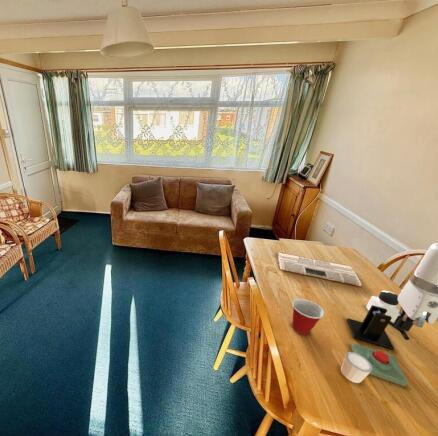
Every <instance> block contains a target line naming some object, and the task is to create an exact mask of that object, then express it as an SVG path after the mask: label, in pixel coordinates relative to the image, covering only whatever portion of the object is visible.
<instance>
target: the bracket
mask: <svg viewBox="0 0 438 436" xmlns="http://www.w3.org/2000/svg"><path fill="white" fill-rule="evenodd" d="M378 309H379V310H380V311H382V312H383V313H384V314H386V312H387V309H385V308H381V307H377V306H373V305H372V306H371V308H370V310H369V311H368V310H367V311H368V312H367V313H366V315H365V316H364V319H363V320H362V321H359V320H356V319H352V318H348V317H347V318H346V322H347V325H348V328H349V329H350V330H349V331H350V332H351V336H352V338H353V339H355V340H358V341H360V342H364V343H366V344H367V343H368V344H371V345H374V346H377V347H380V348H384V349H386V350H390V351H394V350H395V348H394V345H393V344H392V342H391V340H390V338H389V336H388V334H387V332H386V328H387V327H388V325H390V324H389V322H390V320H391V319H392V317H391V316H388V315H384V314H381V313H377V312H376V313H375V314H373V311H375V310H378Z"/></svg>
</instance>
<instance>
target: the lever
mask: <svg viewBox="0 0 438 436" xmlns="http://www.w3.org/2000/svg"><path fill="white" fill-rule="evenodd" d="M376 312H377V313H381V314H384V313H383V312H382V311H380V310H379V309H378V310H375V311H373V314H375V313H376ZM384 315H385V314H384ZM388 325H389V326H391V327H393V328H394V329H395V330H397V331H398V332H399V333H400V334H401V336H402V337H403V339H404V340H406V341H409V340H410V336H409V335H408V334H407V331H404V330H401V329H397V328H395V326H394V324H393V322H391V321H390V322H389V324H388Z"/></svg>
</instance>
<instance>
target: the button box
mask: <svg viewBox="0 0 438 436" xmlns="http://www.w3.org/2000/svg"><path fill="white" fill-rule="evenodd" d="M350 348H351V352H354V353H357V354H359V355H361V356H363V357H364V358H365V359H366V360H368V361H369V363H370V364H371V366H372V371H371V372H370V373H369V374H368V375H372V376H374V377H377V378H380V379H383V380H385V381H388V382H391V383H393V384H396V385H399V386H402V387H406V386H407V385H408V383H409V382H408V380H407V378H406V376H405V374H404V372H403V370H402V368H401V366H400V364H399V362H398V361H397V358H396V356H395V355H392V354H389V353H385V352H384V353H385V354H386V355H387V356H388V357H389V361H388V362H387V363H385V364H384V363H381V362H379V361H378V360H376V359H375V358H374V356H373V354H374V353H375V351H379V350H377V349H375V348H370V347H367V346H364V345H361V344H358V343H354V342H353V343H351V345H350Z"/></svg>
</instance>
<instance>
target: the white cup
mask: <svg viewBox="0 0 438 436" xmlns="http://www.w3.org/2000/svg"><path fill="white" fill-rule="evenodd" d="M371 371H372V366H371V364H370V363H369V361H368V360H366V359H365V358H364V357H363V356H361V355H359V354H357V353H354V352H353V351H348V352H346V354H345V355H344V359H343V361H342V364H341V367H340V372H341V374H342V375H343V376H344V377H345V379H347V380H348V381H350V382H352V383H354V384H361V382H362V381H363V380H364V379H365V378H367V377H368V375H370V374H369V373H370V372H371Z"/></svg>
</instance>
